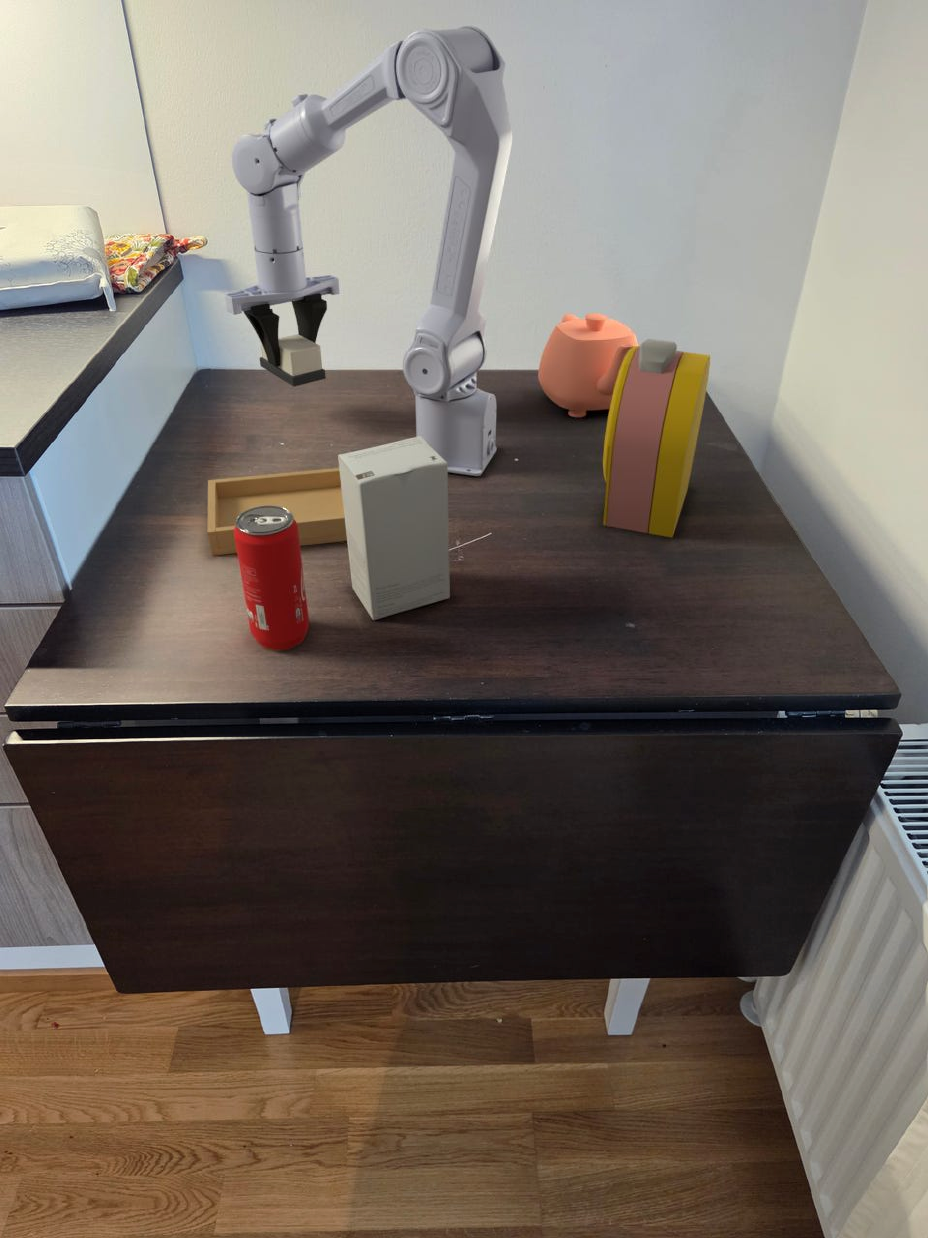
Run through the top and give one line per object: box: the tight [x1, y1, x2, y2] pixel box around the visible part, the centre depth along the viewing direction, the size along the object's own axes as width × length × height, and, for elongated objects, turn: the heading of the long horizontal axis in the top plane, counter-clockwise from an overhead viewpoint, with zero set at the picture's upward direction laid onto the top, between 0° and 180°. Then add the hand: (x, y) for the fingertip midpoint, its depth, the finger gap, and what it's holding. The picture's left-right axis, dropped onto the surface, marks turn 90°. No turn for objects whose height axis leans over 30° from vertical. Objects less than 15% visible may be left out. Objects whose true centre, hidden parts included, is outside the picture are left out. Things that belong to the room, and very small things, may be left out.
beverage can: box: [234, 506, 310, 652], centre depth 75 cm, size 5×5×12 cm
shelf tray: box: [207, 467, 347, 557], centre depth 94 cm, size 16×12×3 cm
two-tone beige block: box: [259, 333, 326, 387], centre depth 111 cm, size 9×5×4 cm, turn 38°
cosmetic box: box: [337, 436, 451, 621], centre depth 79 cm, size 8×6×15 cm
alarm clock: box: [602, 338, 711, 538], centre depth 93 cm, size 15×8×18 cm, turn 160°
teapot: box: [537, 312, 639, 418], centre depth 118 cm, size 13×20×12 cm, turn 18°
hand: (291, 360), depth 111 cm, fingers closed on two-tone beige block, 4 cm apart
